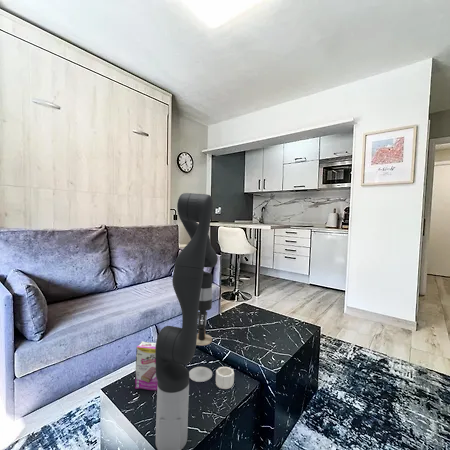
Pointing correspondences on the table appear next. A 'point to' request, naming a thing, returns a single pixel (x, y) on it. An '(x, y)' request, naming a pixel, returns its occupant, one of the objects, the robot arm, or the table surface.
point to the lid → (206, 340)
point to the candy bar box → (146, 366)
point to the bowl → (224, 377)
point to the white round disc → (200, 374)
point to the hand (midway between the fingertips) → (201, 337)
